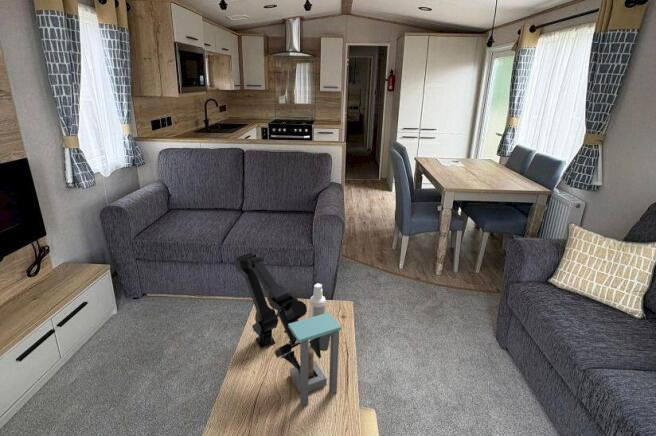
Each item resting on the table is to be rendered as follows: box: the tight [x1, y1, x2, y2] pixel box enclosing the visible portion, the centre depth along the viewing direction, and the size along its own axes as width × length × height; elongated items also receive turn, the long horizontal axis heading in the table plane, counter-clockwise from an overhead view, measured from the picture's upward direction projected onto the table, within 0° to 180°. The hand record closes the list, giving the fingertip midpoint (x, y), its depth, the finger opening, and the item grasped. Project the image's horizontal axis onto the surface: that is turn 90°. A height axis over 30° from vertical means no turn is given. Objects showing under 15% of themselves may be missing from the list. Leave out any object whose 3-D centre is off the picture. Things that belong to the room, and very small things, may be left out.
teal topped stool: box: [288, 312, 342, 407], centre depth 129 cm, size 10×15×27 cm, turn 118°
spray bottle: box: [309, 282, 327, 318], centre depth 169 cm, size 7×7×18 cm
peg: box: [308, 346, 315, 380], centre depth 136 cm, size 4×4×13 cm
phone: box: [309, 333, 331, 351], centre depth 161 cm, size 7×1×15 cm
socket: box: [289, 359, 328, 393], centre depth 138 cm, size 10×10×3 cm
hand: (310, 364), depth 135 cm, fingers open, 9 cm apart
